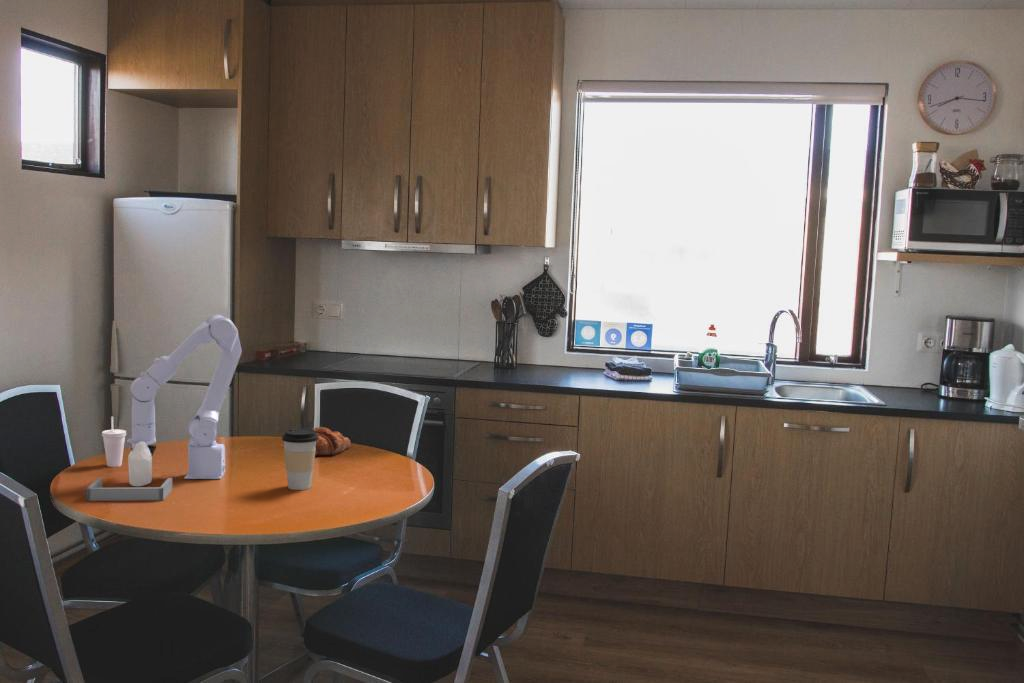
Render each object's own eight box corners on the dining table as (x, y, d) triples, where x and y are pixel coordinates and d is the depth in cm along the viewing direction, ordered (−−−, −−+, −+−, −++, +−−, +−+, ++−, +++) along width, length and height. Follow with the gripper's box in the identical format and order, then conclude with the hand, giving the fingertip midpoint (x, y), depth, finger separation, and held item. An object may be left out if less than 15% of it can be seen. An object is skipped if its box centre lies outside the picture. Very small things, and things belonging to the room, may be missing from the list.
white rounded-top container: (138, 433, 236) (156, 438, 235) (140, 473, 241) (157, 478, 239) (122, 442, 231) (140, 448, 230) (124, 483, 235) (141, 489, 234)
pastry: (302, 446, 288) (302, 421, 287) (351, 446, 289) (351, 422, 288) (294, 458, 271) (295, 432, 270) (346, 459, 273) (347, 433, 272)
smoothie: (96, 465, 254) (96, 416, 252) (116, 461, 259) (115, 413, 258) (112, 469, 251) (111, 419, 249) (131, 464, 256) (131, 416, 255)
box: (172, 489, 233) (172, 478, 233) (163, 500, 224) (163, 488, 223) (98, 489, 231) (98, 478, 230) (86, 500, 221) (85, 488, 220)
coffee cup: (279, 483, 242) (279, 428, 241) (315, 481, 246) (315, 427, 244) (283, 493, 233) (284, 435, 232) (320, 490, 237) (321, 434, 235)
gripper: (135, 417, 245) (135, 466, 247) (119, 428, 231) (120, 480, 233) (162, 417, 246) (162, 466, 248) (148, 428, 232) (149, 480, 234)
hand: (143, 473), depth 240 cm, fingers closed
